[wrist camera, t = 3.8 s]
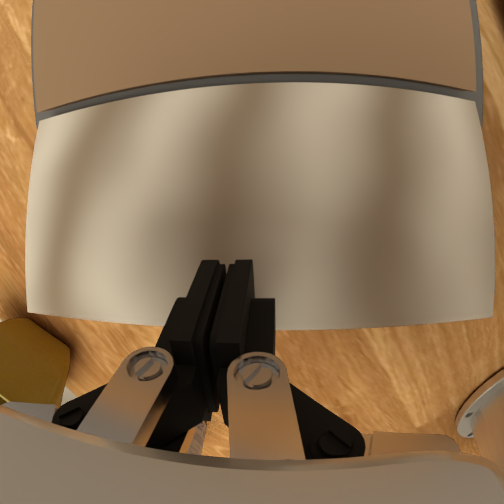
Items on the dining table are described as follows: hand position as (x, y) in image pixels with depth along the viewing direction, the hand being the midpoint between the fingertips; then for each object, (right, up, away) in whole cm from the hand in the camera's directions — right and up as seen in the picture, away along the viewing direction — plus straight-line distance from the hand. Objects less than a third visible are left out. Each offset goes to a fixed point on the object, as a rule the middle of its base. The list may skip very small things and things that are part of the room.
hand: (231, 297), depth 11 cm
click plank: (+1, +4, +3) cm, 5 cm away
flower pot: (-19, -7, +14) cm, 24 cm away
